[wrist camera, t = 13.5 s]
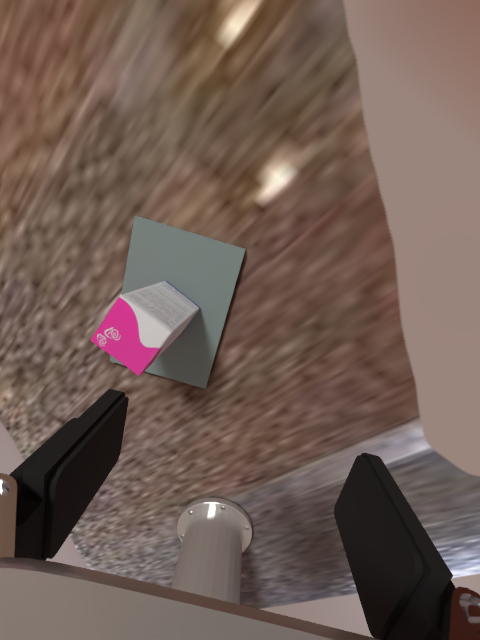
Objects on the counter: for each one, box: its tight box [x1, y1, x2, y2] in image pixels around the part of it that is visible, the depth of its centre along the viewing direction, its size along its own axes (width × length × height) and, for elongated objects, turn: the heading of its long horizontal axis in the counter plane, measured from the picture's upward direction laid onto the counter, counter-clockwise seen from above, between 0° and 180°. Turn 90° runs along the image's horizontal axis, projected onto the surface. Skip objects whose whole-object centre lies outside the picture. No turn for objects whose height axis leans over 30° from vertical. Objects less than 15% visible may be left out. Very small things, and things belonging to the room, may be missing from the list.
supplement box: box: [91, 281, 200, 376], centre depth 29 cm, size 6×6×12 cm
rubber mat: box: [110, 216, 246, 389], centre depth 35 cm, size 20×14×1 cm
